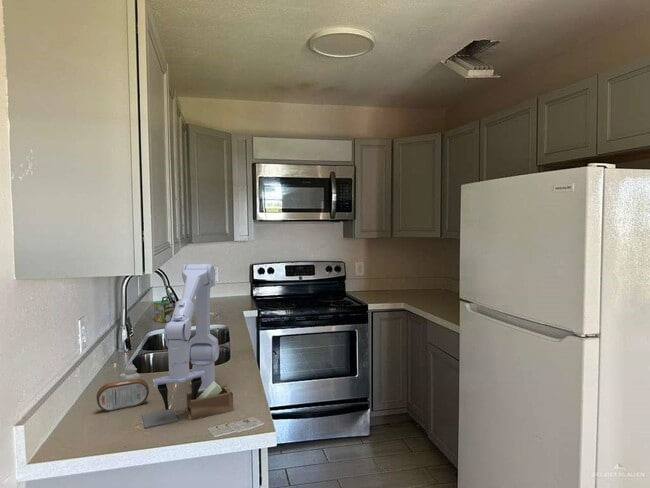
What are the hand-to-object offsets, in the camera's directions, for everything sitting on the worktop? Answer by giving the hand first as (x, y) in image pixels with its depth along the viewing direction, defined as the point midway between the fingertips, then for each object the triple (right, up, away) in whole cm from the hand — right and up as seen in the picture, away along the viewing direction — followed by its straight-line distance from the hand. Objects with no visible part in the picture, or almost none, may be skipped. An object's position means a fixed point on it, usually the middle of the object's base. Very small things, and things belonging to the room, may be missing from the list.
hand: (180, 405), depth 126 cm
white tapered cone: (-28, -3, +27) cm, 39 cm away
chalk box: (-53, +2, +126) cm, 137 cm away
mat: (-6, -4, -1) cm, 7 cm away
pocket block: (+7, -3, +4) cm, 9 cm away
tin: (-20, -4, +7) cm, 22 cm away
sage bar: (+7, 0, +4) cm, 8 cm away
